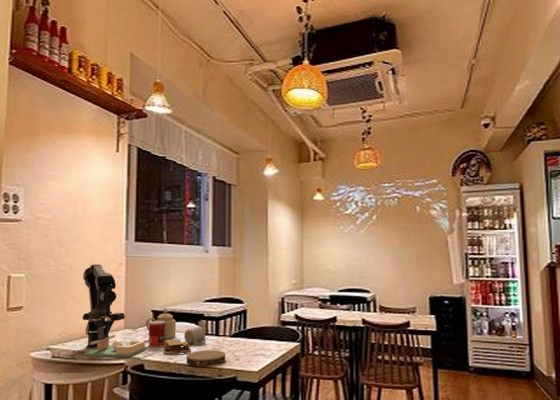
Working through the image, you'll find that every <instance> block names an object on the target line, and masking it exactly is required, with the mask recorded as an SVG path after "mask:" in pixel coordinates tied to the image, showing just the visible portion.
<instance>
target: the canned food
mask: <svg viewBox="0 0 560 400" xmlns="http://www.w3.org/2000/svg"><path fill="white" fill-rule="evenodd" d="M148 326H149V330H148V345H149V346H150V347H161V346H160V345H162V346H164V345H165V341H166V339H165V321H156V320H155V321H153V320H152V321H149V322H148Z"/></svg>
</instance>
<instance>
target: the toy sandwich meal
mask: <svg viewBox="0 0 560 400" xmlns="http://www.w3.org/2000/svg"><path fill="white" fill-rule="evenodd" d="M162 348H163V350H162V352H163V353H164V354H165V353H167V354H166V355H168V354H180V353H185V354H188V353H189V352H190V351H191V350H192V348H191V347H190V344H188V343H187V342H186V341H181V339H168V340H165V344H164V345H162ZM187 352H188V353H187ZM180 355H181V354H180Z"/></svg>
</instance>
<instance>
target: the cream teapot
mask: <svg viewBox="0 0 560 400" xmlns="http://www.w3.org/2000/svg"><path fill="white" fill-rule="evenodd" d="M173 317H174V315H172V314H170V313H168V310H167V308H164V309H163V313H161V314H159V315H158V316H157V319H156V320H155V318H153V317H149V318H148V319H146V321H145V322H146V323H145V326H146V330H147V331H149V322H150V321H151V320H152V321H165V340H166V339H172V338H174V337H176V324H177V323H176V319H174V318H173Z"/></svg>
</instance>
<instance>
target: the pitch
mask: <svg viewBox="0 0 560 400" xmlns="http://www.w3.org/2000/svg"><path fill="white" fill-rule="evenodd" d="M129 343H130V344H129V346H128V345H122V346H117V347H116V350H114V349H113V347H112V345H109V347H108V348H105V349H102V350H97V348H95V349H93V350H90V351H87V352H85V353H84V354H83V356H87V357H108V358H109V357H110V358H111V357H112V358H130V357H132V356H134V355H136V353H137V354H139V353H141V352H143V350H144V351H146V350H147V349H148V346H146V341H145V340H144V341H142V340H130V341H129ZM145 349H146V350H145Z"/></svg>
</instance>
